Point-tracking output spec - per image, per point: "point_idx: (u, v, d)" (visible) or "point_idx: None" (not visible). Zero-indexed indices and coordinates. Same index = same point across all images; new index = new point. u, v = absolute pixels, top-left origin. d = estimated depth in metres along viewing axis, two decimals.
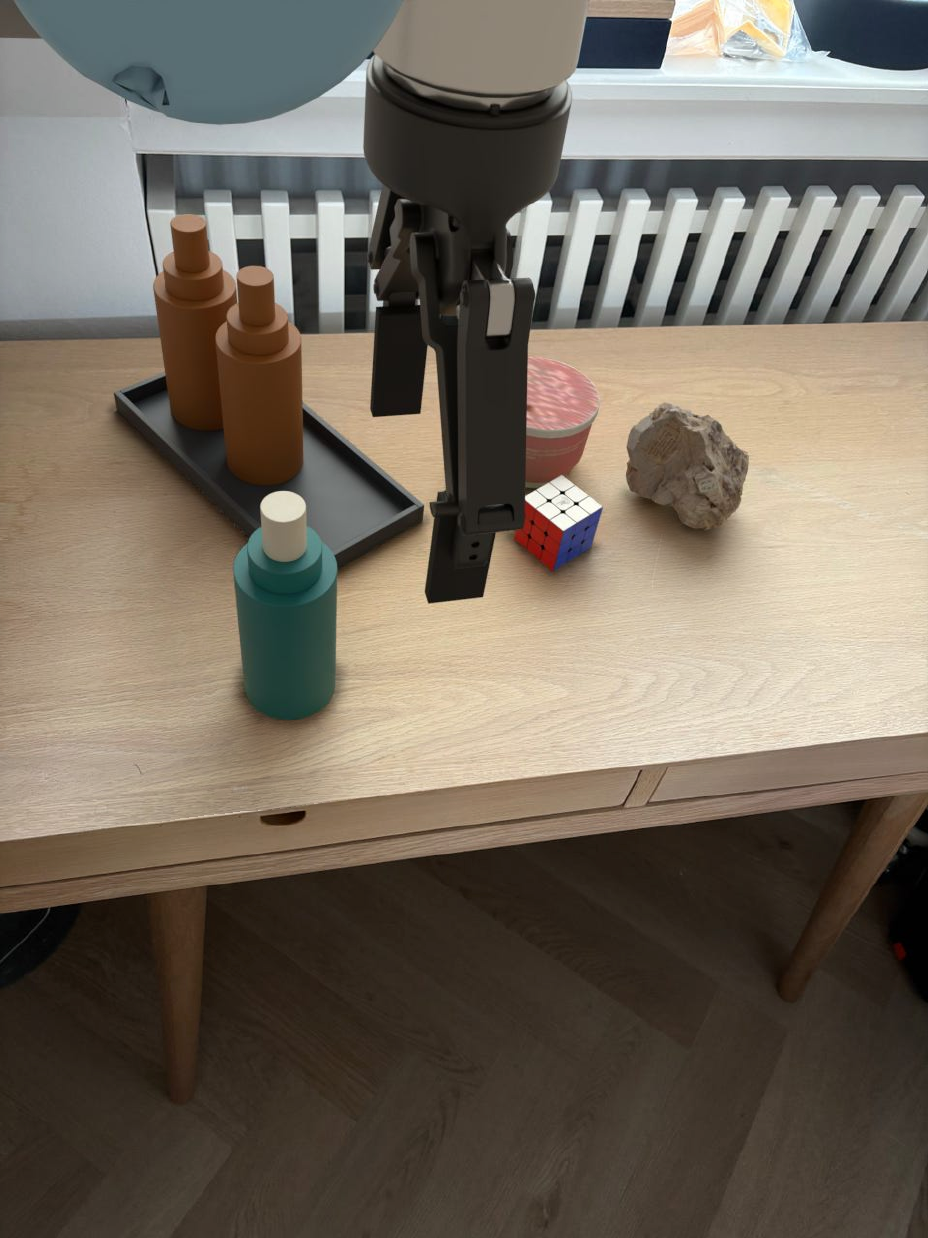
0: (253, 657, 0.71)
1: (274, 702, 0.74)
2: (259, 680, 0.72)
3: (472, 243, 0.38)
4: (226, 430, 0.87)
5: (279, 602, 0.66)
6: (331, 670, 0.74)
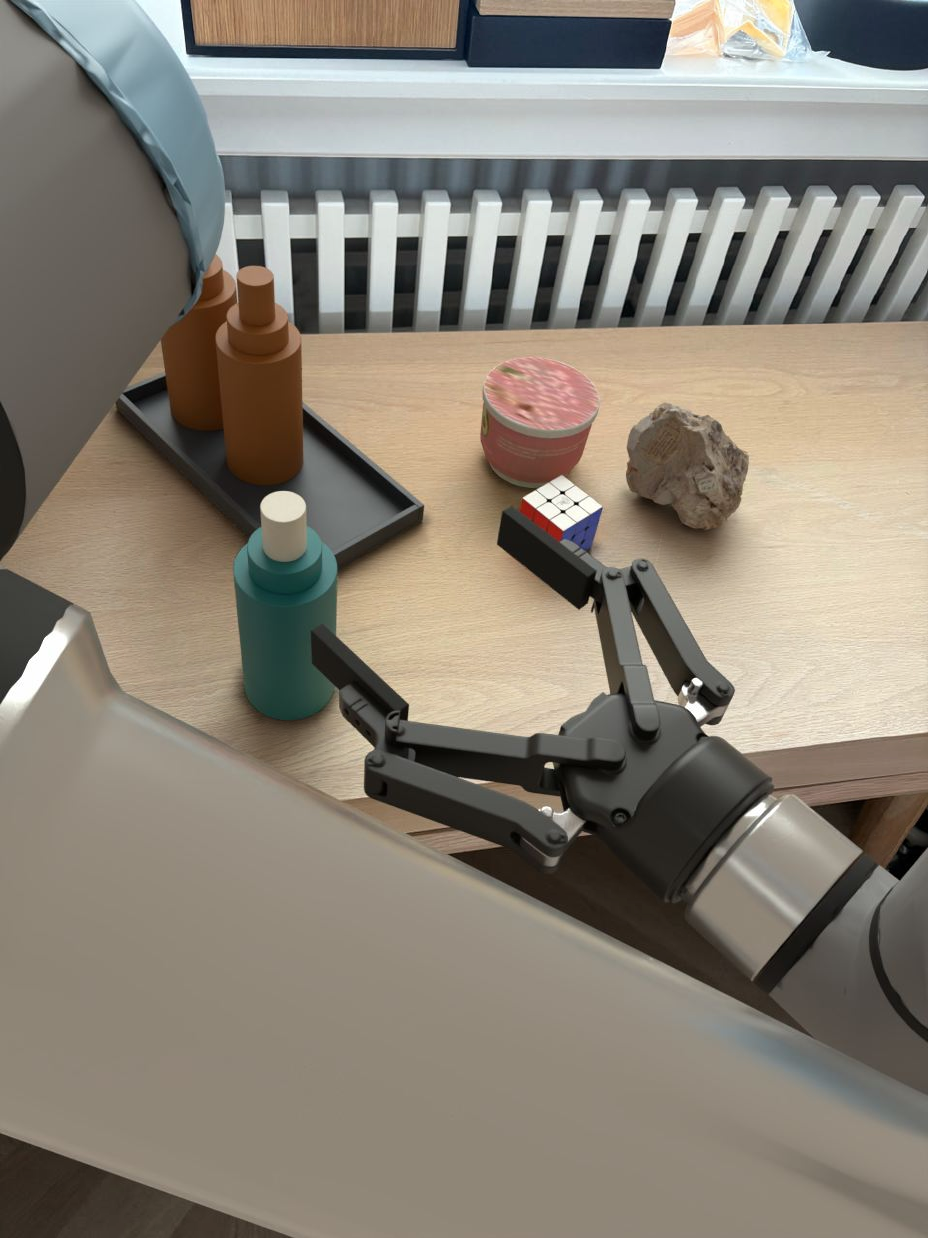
0: (253, 657, 0.71)
1: (274, 702, 0.74)
2: (259, 680, 0.72)
3: (598, 822, 0.46)
4: (226, 430, 0.87)
5: (279, 602, 0.66)
6: None
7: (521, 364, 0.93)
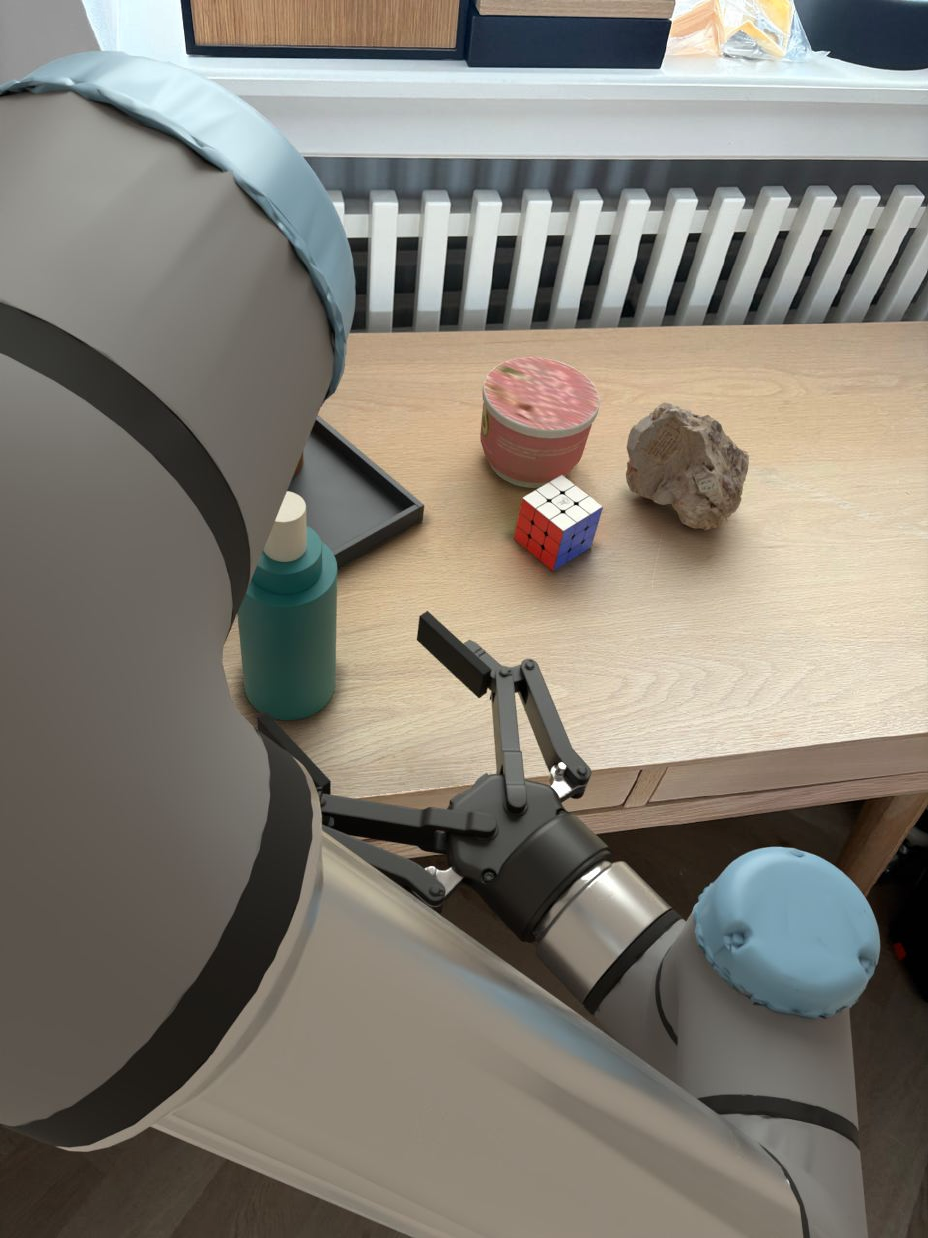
0: (253, 657, 0.71)
1: (274, 702, 0.74)
2: (259, 680, 0.72)
3: (472, 878, 0.60)
4: None
5: (279, 602, 0.66)
6: (331, 670, 0.74)
7: (521, 364, 0.93)
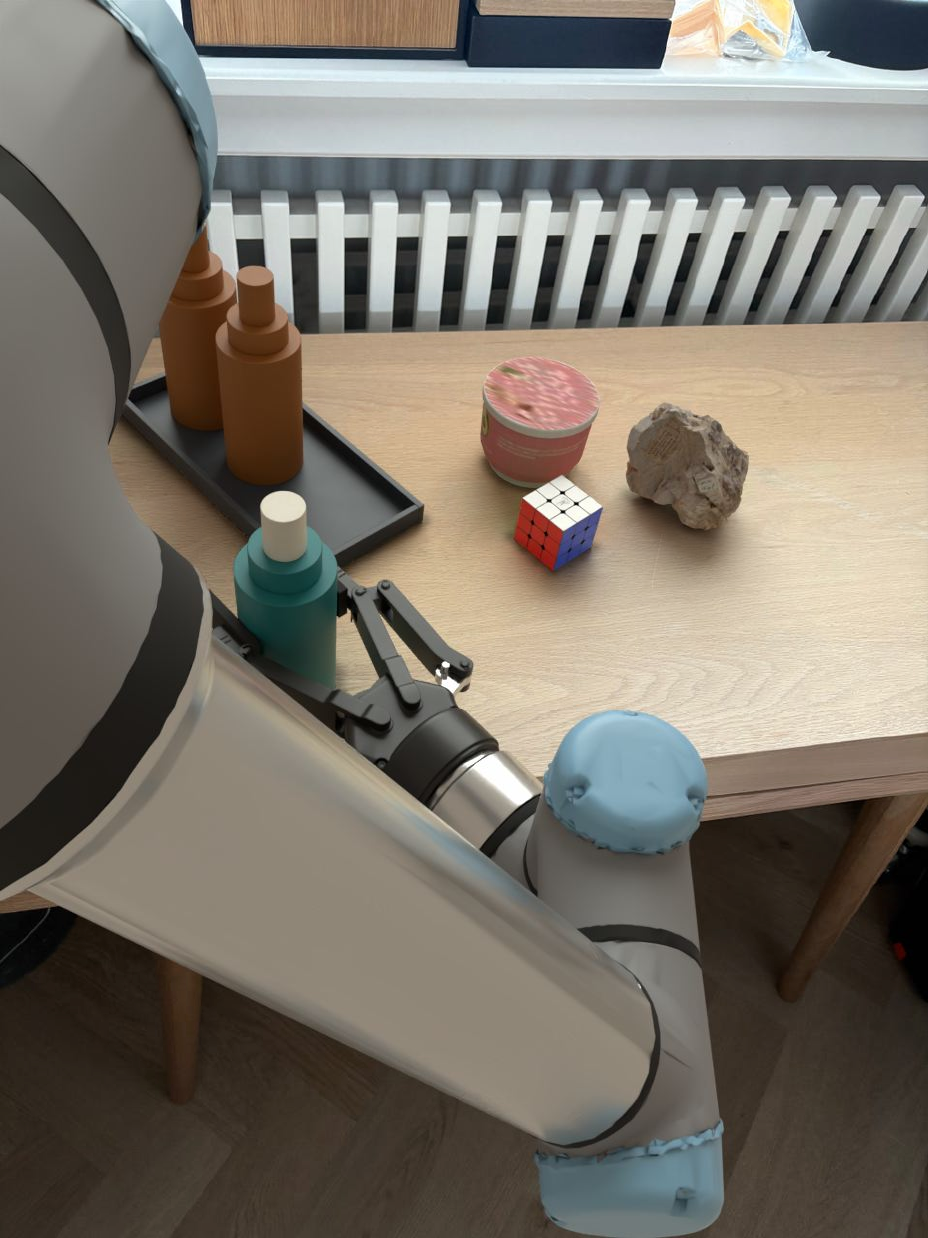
0: None
1: None
2: None
3: None
4: (226, 430, 0.87)
5: (279, 602, 0.66)
6: (331, 670, 0.74)
7: (521, 364, 0.93)
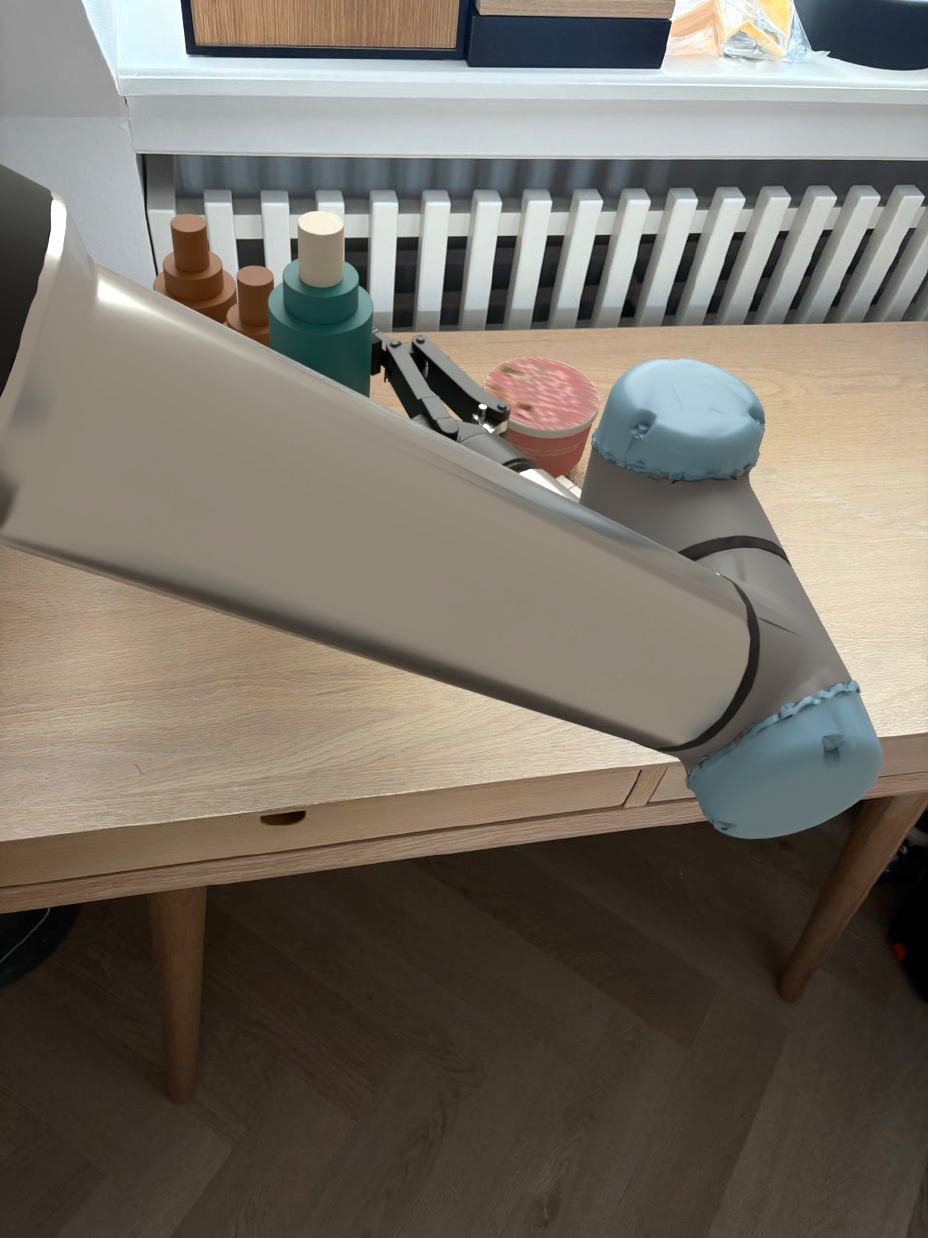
0: None
1: None
2: None
3: None
4: None
5: (315, 330, 0.64)
6: None
7: (521, 364, 0.93)
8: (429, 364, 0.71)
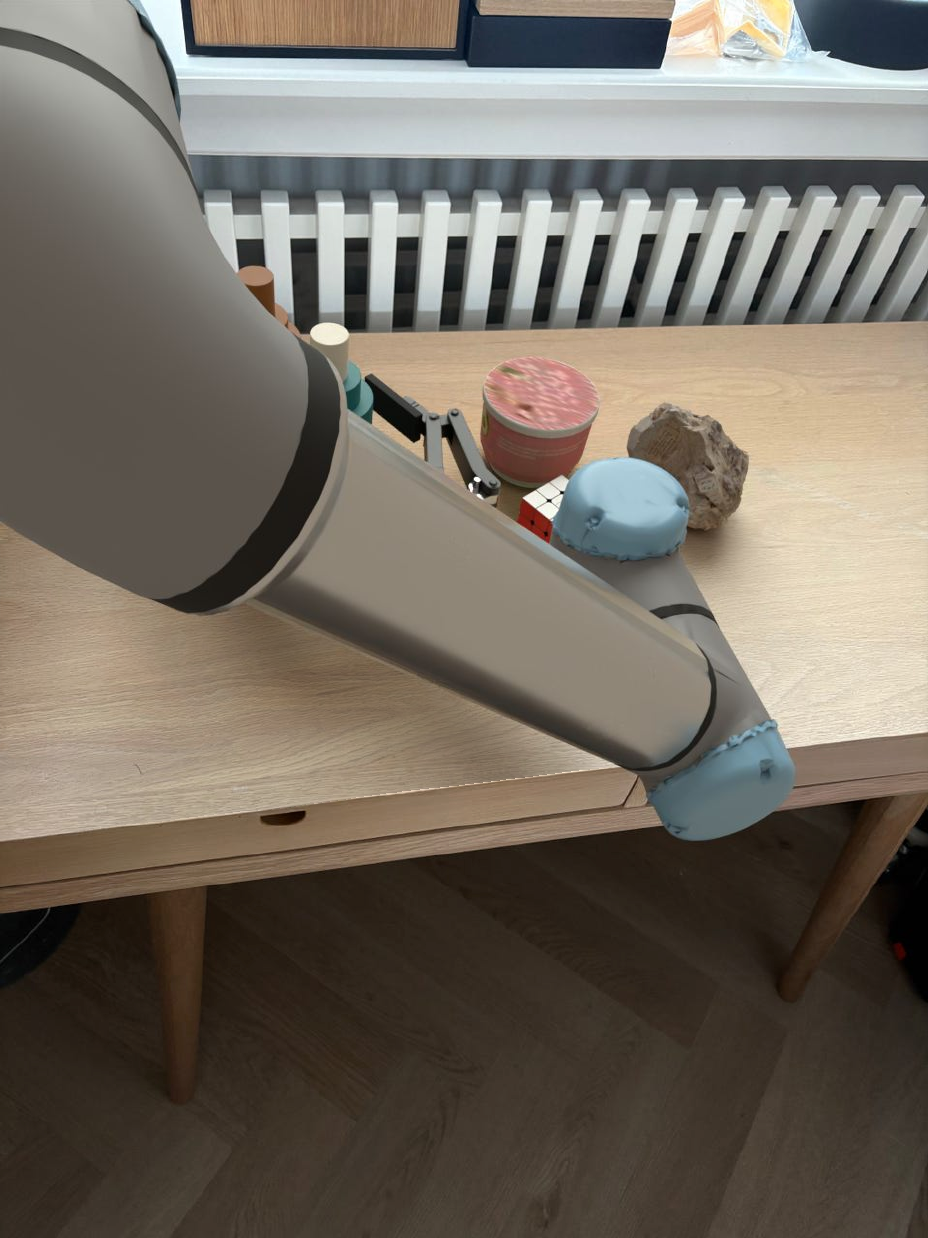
0: None
1: None
2: None
3: None
4: None
5: None
6: None
7: (521, 364, 0.93)
8: (454, 434, 0.83)
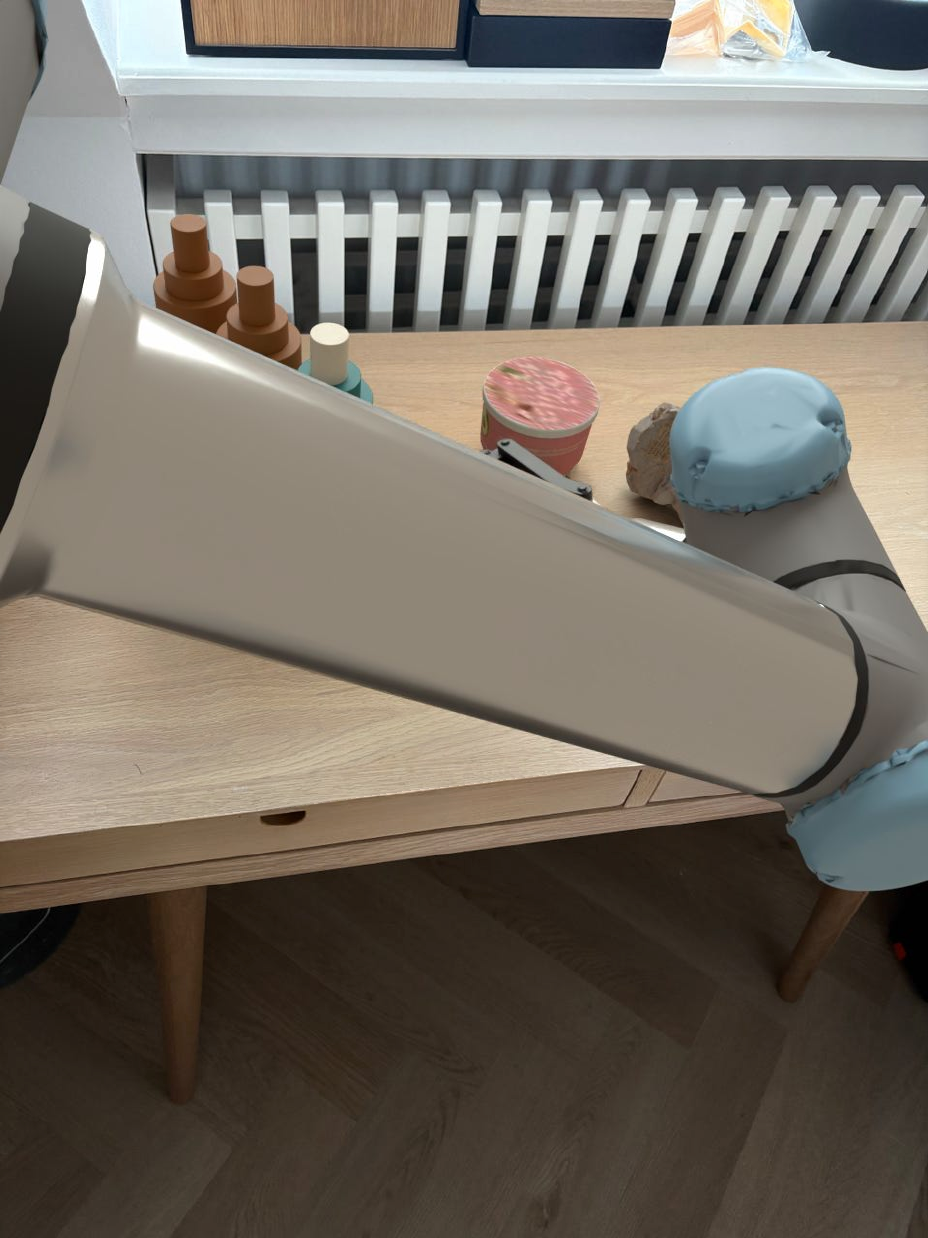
0: None
1: None
2: None
3: None
4: None
5: None
6: None
7: (521, 364, 0.93)
8: (514, 463, 0.71)
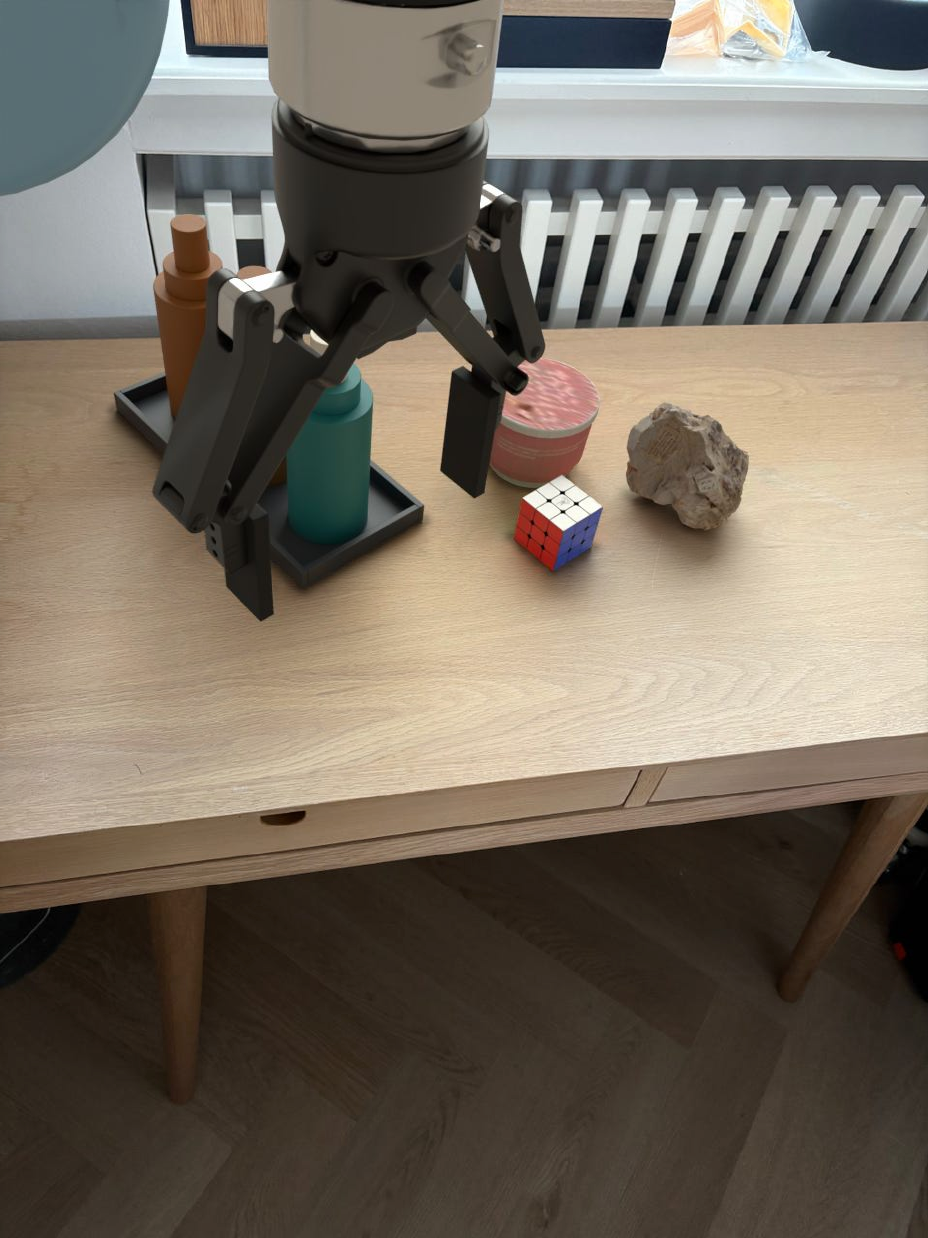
0: (300, 479, 0.82)
1: (316, 525, 0.85)
2: (303, 503, 0.83)
3: (290, 257, 0.37)
4: None
5: (324, 421, 0.77)
6: (365, 498, 0.85)
7: (521, 364, 0.93)
8: (492, 315, 0.48)
